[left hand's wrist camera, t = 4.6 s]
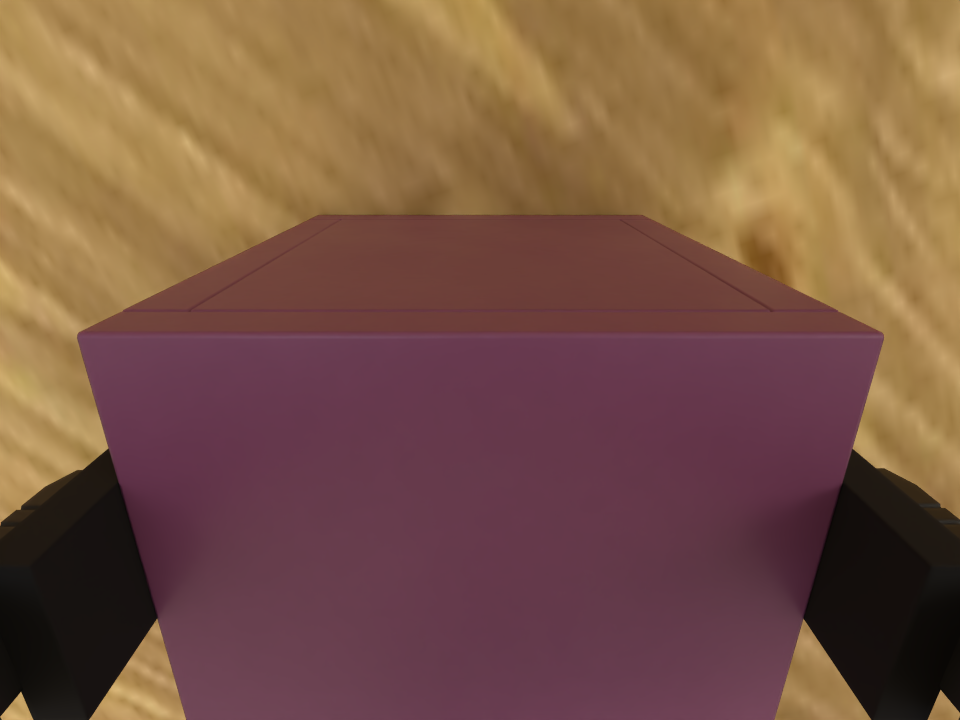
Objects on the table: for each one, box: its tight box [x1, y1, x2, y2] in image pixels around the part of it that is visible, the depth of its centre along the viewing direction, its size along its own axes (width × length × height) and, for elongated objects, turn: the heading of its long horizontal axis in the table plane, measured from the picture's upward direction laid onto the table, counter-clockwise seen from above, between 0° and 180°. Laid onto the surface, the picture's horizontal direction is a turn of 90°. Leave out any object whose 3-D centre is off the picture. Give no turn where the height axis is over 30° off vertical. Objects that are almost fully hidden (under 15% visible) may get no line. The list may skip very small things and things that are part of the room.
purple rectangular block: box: [77, 215, 884, 720], centre depth 17 cm, size 20×11×12 cm, turn 0°
